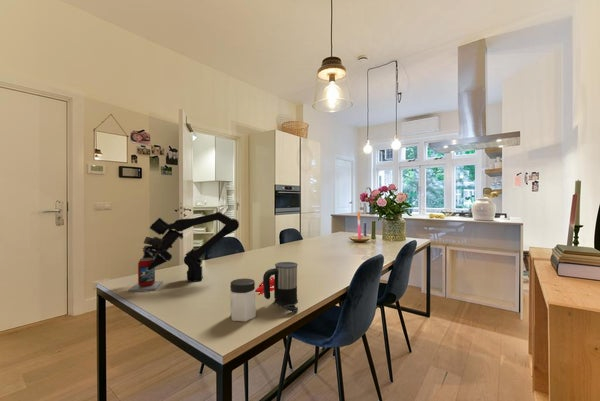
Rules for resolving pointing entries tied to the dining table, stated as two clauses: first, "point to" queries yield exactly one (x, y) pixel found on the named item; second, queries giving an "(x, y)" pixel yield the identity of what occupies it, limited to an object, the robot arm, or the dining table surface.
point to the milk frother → (283, 285)
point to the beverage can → (145, 272)
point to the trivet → (147, 288)
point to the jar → (242, 299)
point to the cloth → (261, 288)
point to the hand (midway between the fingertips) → (143, 268)
